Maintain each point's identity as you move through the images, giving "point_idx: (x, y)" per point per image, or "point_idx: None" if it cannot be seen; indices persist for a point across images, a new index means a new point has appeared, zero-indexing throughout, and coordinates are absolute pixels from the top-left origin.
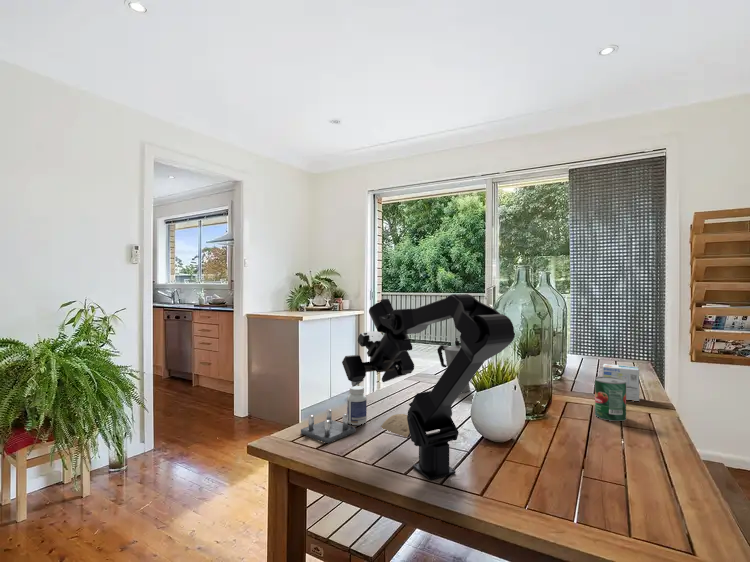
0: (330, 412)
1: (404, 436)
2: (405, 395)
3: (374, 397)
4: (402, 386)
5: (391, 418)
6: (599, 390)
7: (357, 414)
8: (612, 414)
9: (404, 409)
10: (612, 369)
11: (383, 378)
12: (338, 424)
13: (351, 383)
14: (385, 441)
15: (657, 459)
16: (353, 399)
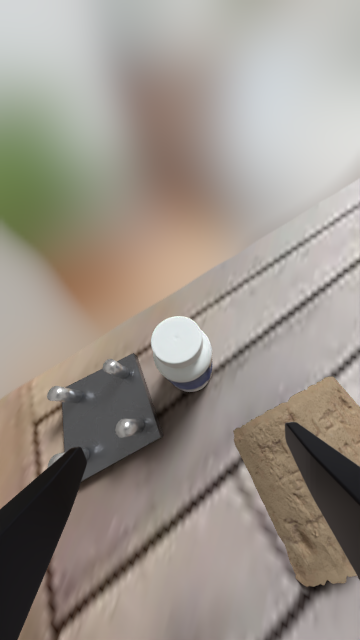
0: (112, 373)
1: (292, 563)
2: (345, 245)
3: (269, 246)
4: (344, 203)
5: (275, 426)
6: None
7: (179, 387)
8: None
9: (330, 324)
10: None
11: (302, 458)
12: (135, 393)
13: (71, 449)
14: (214, 572)
15: None
16: (161, 371)
